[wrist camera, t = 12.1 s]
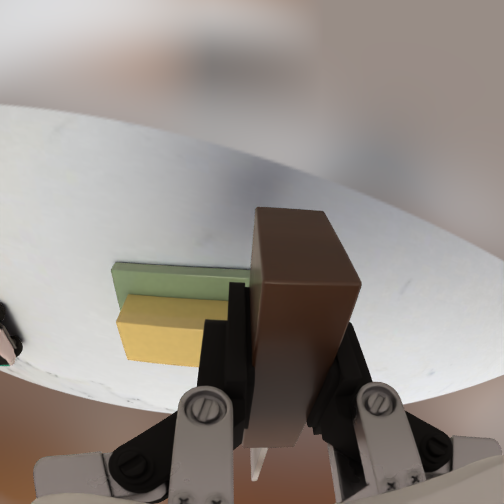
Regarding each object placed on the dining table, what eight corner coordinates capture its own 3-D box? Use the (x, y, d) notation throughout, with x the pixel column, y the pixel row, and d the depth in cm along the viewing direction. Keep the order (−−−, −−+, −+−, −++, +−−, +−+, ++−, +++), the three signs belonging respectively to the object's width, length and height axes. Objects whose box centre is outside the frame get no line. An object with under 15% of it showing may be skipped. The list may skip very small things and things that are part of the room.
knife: (255, 205, 9) (262, 280, 6) (324, 210, 9) (363, 283, 6) (236, 438, 16) (236, 488, 13) (268, 438, 16) (272, 487, 13)
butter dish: (115, 261, 21) (94, 296, 17) (337, 272, 21) (353, 309, 18) (132, 338, 25) (121, 374, 21) (315, 347, 26) (323, 384, 22)
